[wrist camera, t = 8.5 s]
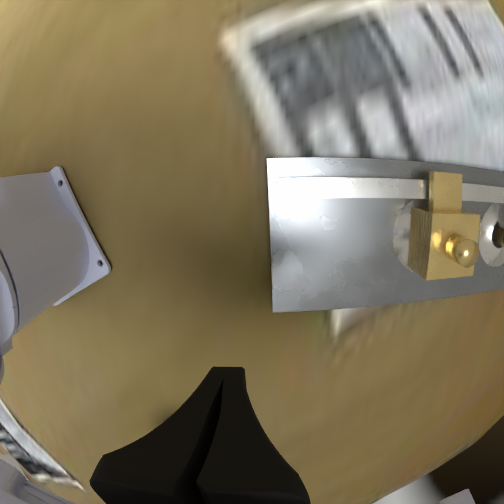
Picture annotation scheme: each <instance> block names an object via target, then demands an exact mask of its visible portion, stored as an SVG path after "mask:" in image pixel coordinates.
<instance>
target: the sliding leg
mask: <svg viewBox="0 0 504 504" xmlns="http://www.w3.org/2000/svg"><path fill="white" fill-rule="evenodd" d="M461 207H462V174H456V173H446V172H435V171H429V207H411V224H410V240H409V252H408V263H407V266H408V267H409V268H411V269H412V270H413V271H415V272H416V273H417V274H418V275H420V276H421V277H422V278H424V279H425V280H436V279H446V278H456V277H465V276H473V271H474V265H475V263H476V261H477V259H478V256H479V246H478V235H479V224H480V215H479V214H476V213H473V212H469V211H466V210H462V209H461Z"/></svg>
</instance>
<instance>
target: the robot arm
mask: <svg viewBox="0 0 504 504" xmlns="http://www.w3.org/2000/svg"><path fill="white" fill-rule="evenodd" d="M61 181H63V185H61ZM100 260H101V261H102V262H103V265H101V263H100ZM110 271H111V266H110V264H109V262H108V261H107V259H106V257H105V255H104V254H103V252H102V250H101V248H100V246H99V244H98V242H97V241H96V239H95V237H94V235H93V233H92V231H91V229H90V227H89V225H88V223H87V221H86V219H85V217H84V215H83V213H82V211H81V209H80V207H79V205H78V203H77V201H76V198H75V196H74V194H73V192H72V190H71V187H70V185H69V183H68V181H67V178H66V176H65V174H64V171H63V169H62V167H60V166H55V167H54V168H53V169H52V170H51V171H50V172H41V173H32V174H23V175H15V176H8V177H1V178H0V384H1V382H2V379H3V375H4V362H3V358H2V357H3V356H4V355H5V354H6V353H7V352H8V351H9V350H11V349H12V337H13V335H15V334H16V333H17V332H19V331H20V330H21V329H22V328H24V327H25V326H26V325H27V324H29V323H30V322H31V321H32V320H34V319H35V318H36V317H38V316H39V315H40V314H41V313H43V312H44V311H45V310H47V309H48V308H49V307H51V306H52V305H54V306H57V305H58V304H60V303H61V302H63V301H65V300H66V299H68V298H69V297H71V296H73V295H74V294H76V293H77V292H79V291H81V290H82V289H84V288H86V287H87V286H89V285H91V284H92V283H94V282H96V281H97V280H99V279H101V278H102V277H104V276H106V275H107V274H109V273H110ZM90 485H91V487H92V488H93V490H94V491H95V492H96V493H97V494H98V495H99V496H100V498H101V499H102V500H103V501H104V502H105V503H106V504H310V498H309V495H308V492H307V490H306V488H305V486H304V484H303V482H302V480H301V478H300V477H299V475H298V473H297V472H296V471H295V470H294V469H293V468H292V467H291V466H290V465H289V464H288V463H287V462H286V461H285V459H284V458H283V457H282V456H281V455H280V454H279V452H278V451H277V450H276V448H275V447H274V445H273V444H272V443H271V441H270V440H269V438H268V437H267V435H266V433H265V432H264V430H263V428H262V427H261V425H260V423H259V421H258V419H257V417H256V415H255V412H254V410H253V408H252V405H251V402H250V400H249V396H248V393H247V390H246V379H245V369H244V368H243V367H212V368H211V370H210V371H209V373H208V374H207V375H206V377H205V378H204V380H203V381H202V382H201V384H200V385H199V386H198V387H197V389H196V390H195V391H194V392H193V394H192V395H191V396H190V397H189V398H188V399H187V400H186V402H185V403H184V404H183V405H182V406H181V407H180V408H179V409H178V410H177V411H176V412H175V413H174V414H173V415H172V416H170V417H169V418H168V419H167V420H166V421H165V422H163V423H162V424H161V425H159V426H158V427H157V428H155V429H154V430H153V431H151V432H150V433H148V434H147V435H145V436H144V437H142V438H140V439H138V440H136V441H135V442H133V443H131V444H129V445H127V446H125V447H123V448H120V449H118V450H115V451H113V452H110V453H108V454H105V455H103V456H102V458H101V459H100V461H99V463H98V464H97V466H96V468H95V471H94V473H93V475H92V477H91V479H90ZM0 504H75V503H73V502H71V501H68V500H66V499H64V498H62V497H59V496H57V495H55V494H53V493H51V492H49V491H47V490H45V489H43V488H41V487H39V486H37V485H35V484H34V483H32V482H30V481H28V480H26V478H25V477H24V476H23V474H22V473H21V472H20V471H18V470H17V469H16V468H15V467H13V466H11V465H10V464H8V463H6V462H5V461H3V460H2V459H0ZM437 504H475V503H474V500H473V498H472V496H471V494H470V491H469V489H465V490H463V491H461V492H459V493H457V494H454V495H453V496H450V497H447V498H446V499H443V500H441V501H440V502H438V503H437Z"/></svg>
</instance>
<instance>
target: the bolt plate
mask: <svg viewBox="0 0 504 504" xmlns="http://www.w3.org/2000/svg"><path fill="white" fill-rule="evenodd" d="M429 171H435V172H446V173H456V174H462V207H461V209H462V210H466V211H469V212H473V213H476V214H479V215H480V224H479V235H478V246H479V256H478V259H477V261H476V263H475V265H474V271H473V276H465V277H456V278H446V279H436V280H425V279H424V278H422V277H421V276H420V275H418V274H417V273H416V272H415V271H413V270H412V269H411V268H409V267H408V266H407V263H408V252H409V240H410V224H411V207H429ZM267 175H268V197H269V220H270V245H271V273H272V305H273V312H294V311H313V310H329V309H343V308H356V307H368V306H379V305H390V304H399V303H408V302H417V301H426V300H434V299H441V298H449V297H456V296H463V295H470V294H476V293H482V292H488V291H494V290H500V289H504V172H499V171H493V170H487V169H480V168H473V167H466V166H458V165H449V164H440V163H430V162H419V161H406V160H391V159H371V158H331V157H309V158H268V159H267Z"/></svg>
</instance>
